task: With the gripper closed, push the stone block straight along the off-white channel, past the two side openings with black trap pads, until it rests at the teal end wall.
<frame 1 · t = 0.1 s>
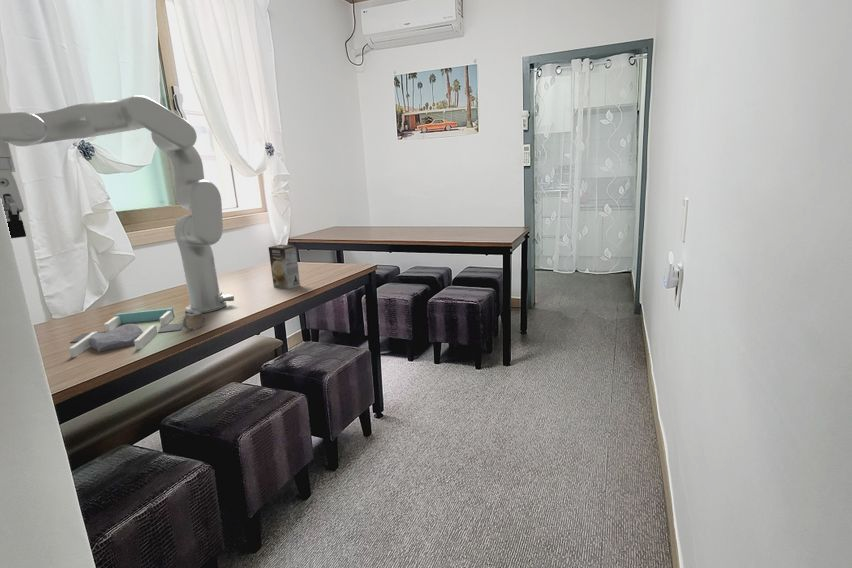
hand: (12, 236, 117), 31 cm above the table, tool pointing down, fingers open, 9 cm apart
coffee box: (287, 287, 184), on the table
stone block: (120, 345, 128), on the table
trap channel: (127, 335, 135), on the table
wristwatch: (195, 329, 137), on the table
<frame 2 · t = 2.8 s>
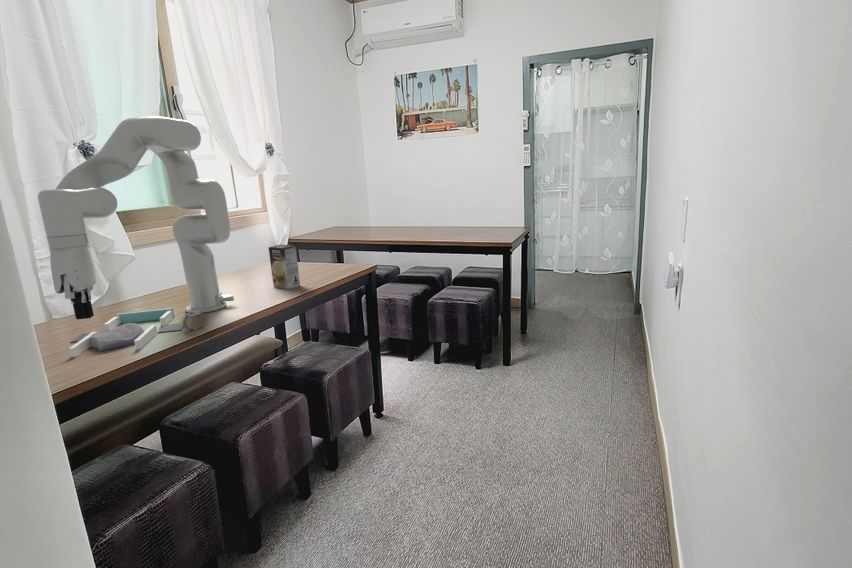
hand: (85, 317, 113), 11 cm above the table, tool pointing down, fingers closed
nothing on the table moved.
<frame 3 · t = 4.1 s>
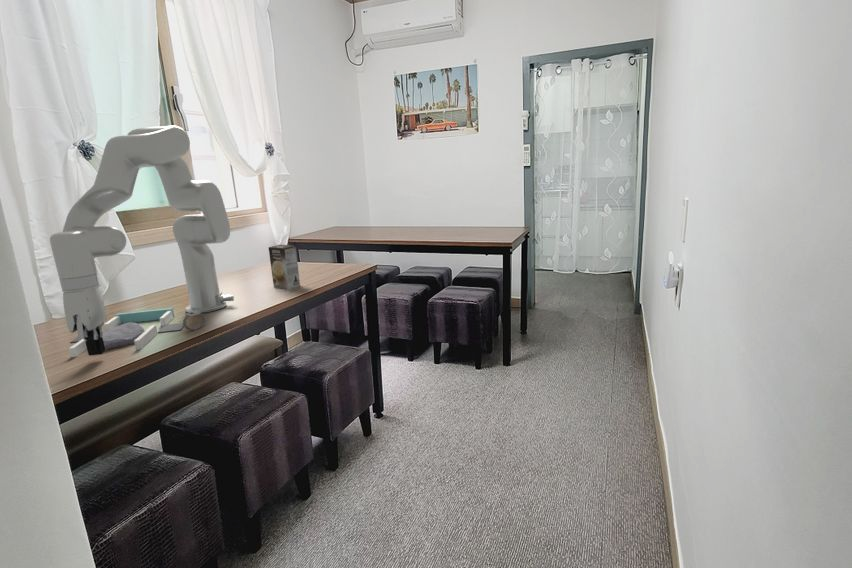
hand: (97, 353, 117), 2 cm above the table, tool pointing down, fingers closed
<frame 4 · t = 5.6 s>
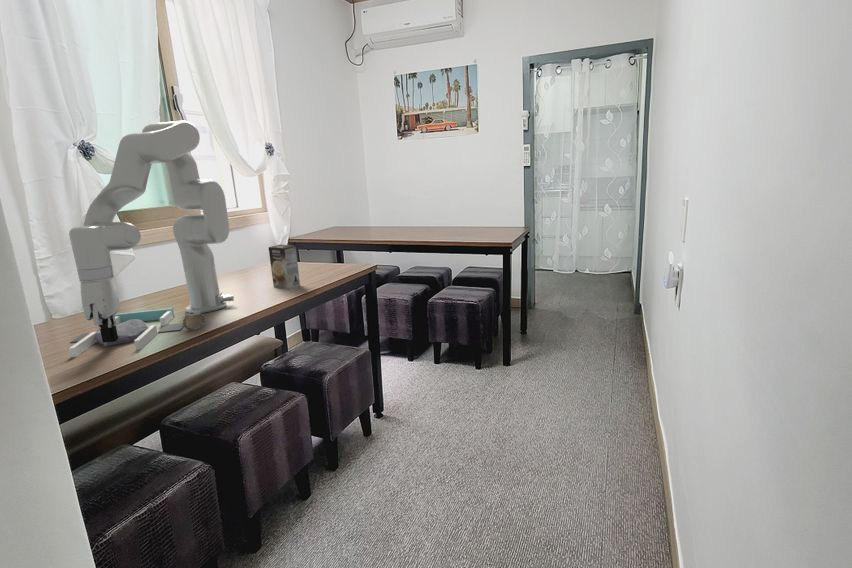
hand: (110, 340, 125), 2 cm above the table, tool pointing down, fingers closed
stone block: (125, 339, 132), on the table, touching gripper
everything else where it was.
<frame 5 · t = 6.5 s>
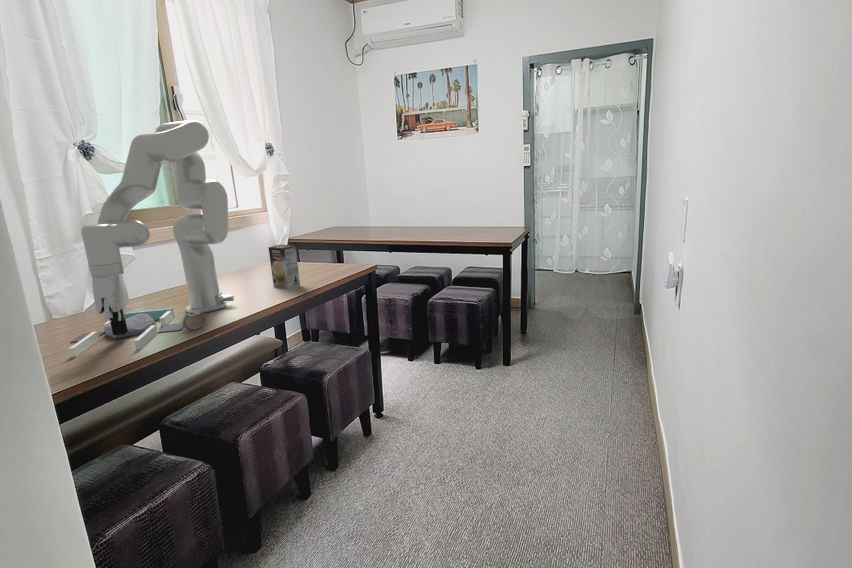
hand: (120, 333, 131), 2 cm above the table, tool pointing down, fingers closed
stone block: (133, 333, 138), on the table, touching gripper
everything else where it was.
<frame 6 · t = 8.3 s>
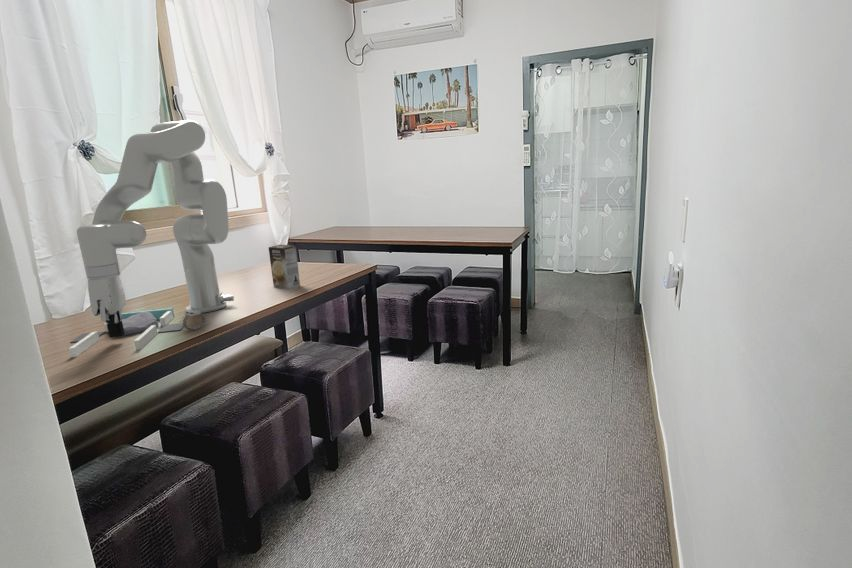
hand: (117, 336, 129), 2 cm above the table, tool pointing down, fingers closed
stone block: (135, 331, 140), on the table
everything else where it was.
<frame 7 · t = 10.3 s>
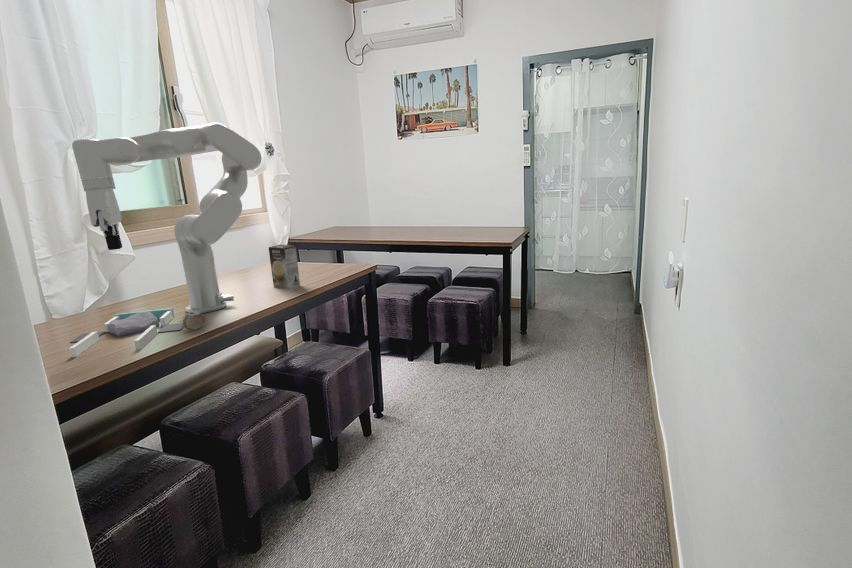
hand: (115, 248, 136), 24 cm above the table, tool pointing down, fingers closed
stone block: (136, 330, 140), on the table, touching trap channel
everything else where it was.
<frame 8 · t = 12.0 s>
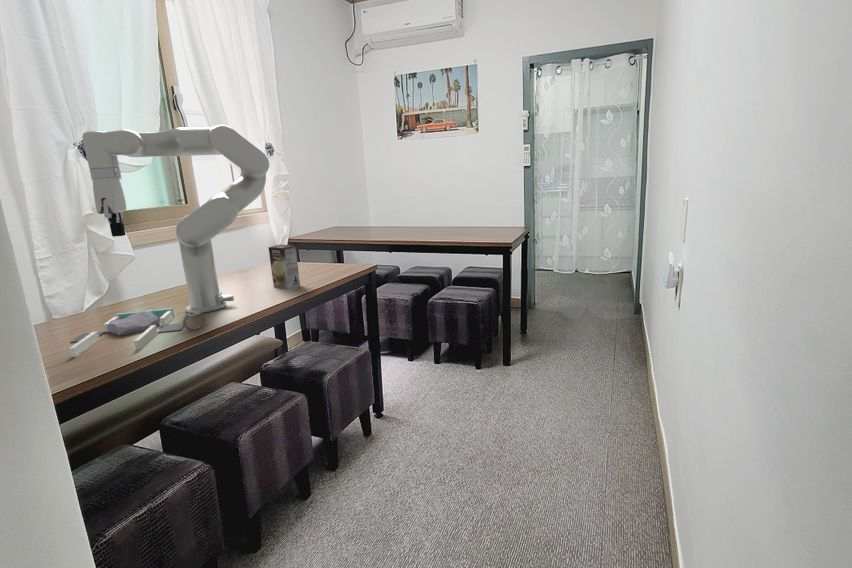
hand: (119, 235, 144), 27 cm above the table, tool pointing down, fingers closed
stone block: (136, 330, 141), on the table
everything else where it was.
at the end: stone block inside the target area (0.9 cm from its centre), on the table; stone block tilted 0° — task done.
